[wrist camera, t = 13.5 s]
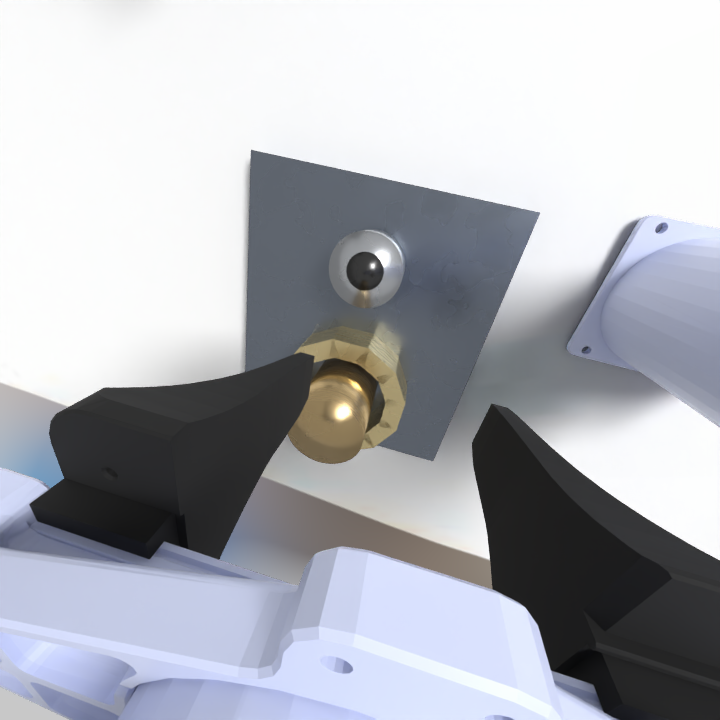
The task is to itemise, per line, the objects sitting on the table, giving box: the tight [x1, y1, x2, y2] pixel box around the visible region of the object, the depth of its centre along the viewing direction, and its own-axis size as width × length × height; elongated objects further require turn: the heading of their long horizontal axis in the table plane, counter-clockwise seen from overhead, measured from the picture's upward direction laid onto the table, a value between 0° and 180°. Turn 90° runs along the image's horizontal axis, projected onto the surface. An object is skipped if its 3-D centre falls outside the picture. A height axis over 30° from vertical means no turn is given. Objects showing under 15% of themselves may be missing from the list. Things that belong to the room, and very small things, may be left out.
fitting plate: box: [245, 150, 540, 461], centre depth 19 cm, size 16×18×4 cm
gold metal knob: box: [288, 358, 377, 464], centre depth 19 cm, size 4×4×6 cm
